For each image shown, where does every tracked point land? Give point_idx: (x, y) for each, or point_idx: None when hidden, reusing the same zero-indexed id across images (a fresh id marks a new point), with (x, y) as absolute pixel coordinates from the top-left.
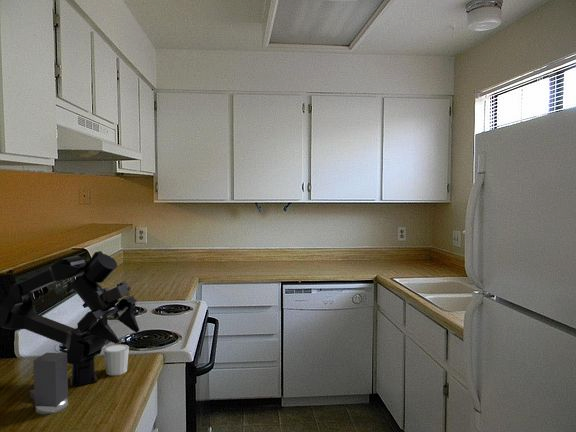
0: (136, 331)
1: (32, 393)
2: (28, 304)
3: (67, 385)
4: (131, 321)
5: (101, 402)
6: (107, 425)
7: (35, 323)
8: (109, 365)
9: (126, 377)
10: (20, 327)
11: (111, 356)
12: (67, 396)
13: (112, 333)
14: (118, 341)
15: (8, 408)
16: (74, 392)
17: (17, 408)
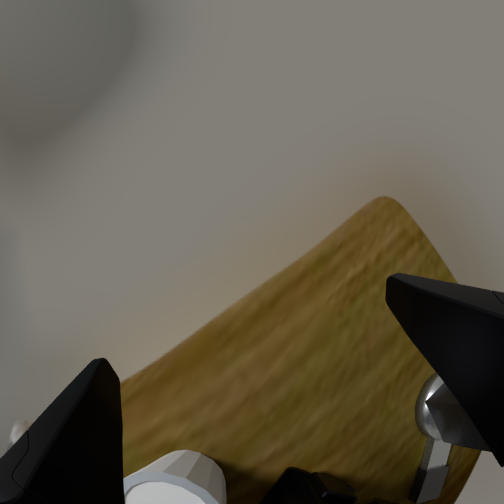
0: (115, 379)
1: (442, 483)
2: None
3: (446, 402)
4: (77, 452)
5: (368, 329)
6: (407, 220)
7: None
8: (224, 489)
9: (204, 417)
10: None
11: (219, 496)
12: (427, 399)
13: (463, 287)
14: (396, 273)
15: (473, 460)
16: (370, 451)
17: (469, 449)
